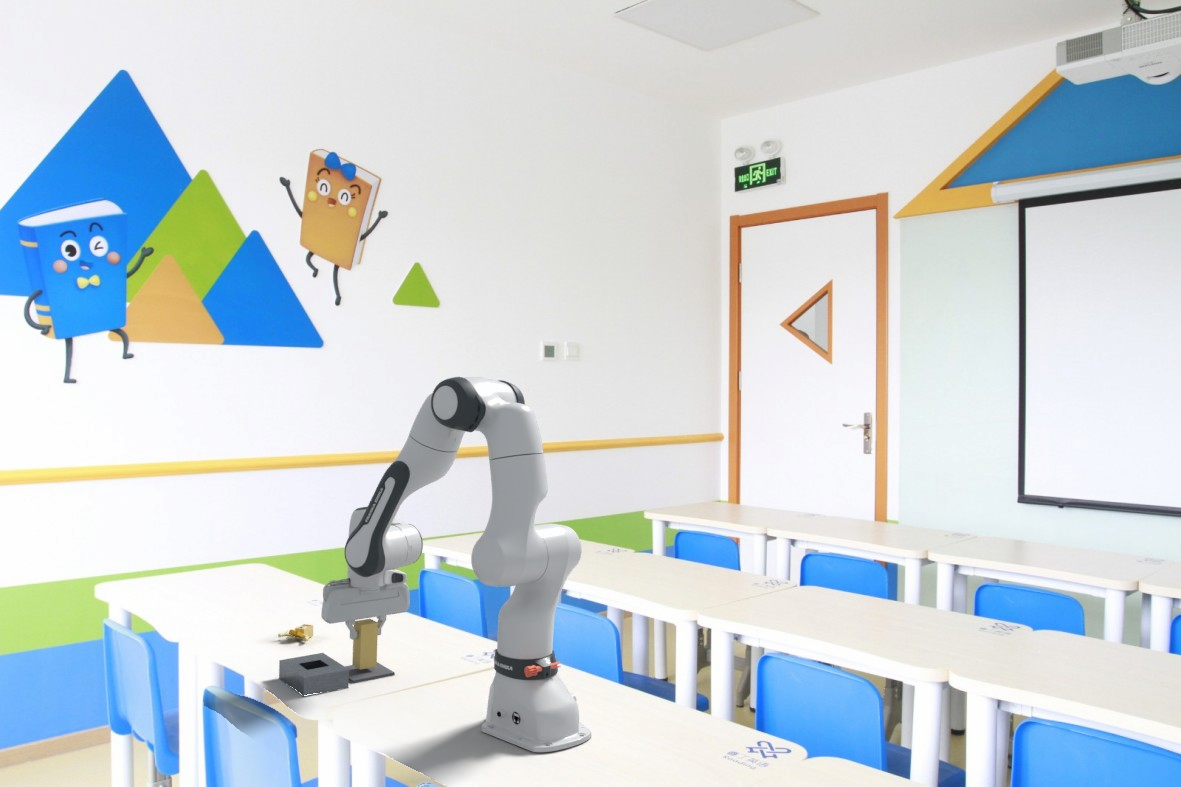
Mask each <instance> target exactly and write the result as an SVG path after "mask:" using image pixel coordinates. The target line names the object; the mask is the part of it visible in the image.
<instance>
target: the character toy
mask: <svg viewBox="0 0 1181 787" xmlns="http://www.w3.org/2000/svg"><path fill="white" fill-rule="evenodd" d="M313 636H314V625H313V624H307V623H303V624H301V625H299V626H296V627H295V628H294V629H289V631H288V632H282V633H279V634H277V637H278V638H282V637H283V638H284V637H285V640H289V639H291V638H292V639H293V638H295V639H296V640H302V641H304V642H307V641H308V640H309V638H311V637H313Z"/></svg>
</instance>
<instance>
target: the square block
mask: <svg viewBox="0 0 1181 787" xmlns="http://www.w3.org/2000/svg"><path fill="white" fill-rule="evenodd" d="M353 627H354V629H355V630H357V631H359V638H358V639H353V640H352V664H351V665H354V666H355V667H357V668H358V669H360V670H361V669H366V668H371V667H376V666H377V662H378V660H377V659H378V636H379V635H378V623H377V621H375V620H373V618H365V619H358V620H355V625H353Z"/></svg>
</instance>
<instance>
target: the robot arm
mask: <svg viewBox="0 0 1181 787" xmlns="http://www.w3.org/2000/svg"><path fill="white" fill-rule="evenodd" d="M523 394H524V393H522V391H521V389H520V388H518V386H517V385H516V384H513V383H512V382H509V381H505V380H502V379H501V380H500V379H499V380H496V379H490V378H486V377H481V376H467V377H461V376H453V377H449V378H446V379H444V380H441V381H440V382H439V383H437V385H436V386H435V388H434V389H433V391H432V393H430V394H429V395H428V396H427V397H426V398H425V400H424V402H423V403H422V404H421V406H420V409H419V410H418V412H417V415H416V417H415V419H414V421H413V423H412V426H411V428H410V431H409V434H408V435H407V439H406V441H405V443H404V445H403V446H402V448H401V450H400V452H399V453H398V455H397V457H396V458H395V460H393V462H392V463H391V464H390V465H389V467H387V469H386V470H385V472H384V473H383V475H382V477H381V478H380V480H379V483H378V484H377V487H376V489H375V491H374V493H373V494H372V496H371V499H370V501H369V503H368V505H367V506H363V507H362V506H361V507H357V508H355V510H353V512H352V513H351V516H350V519H349V526H348V537H347V540H346V542H345V544H344V545H345V546H344V558H345V561H346V564H347V573H346V575H347V577H346V578H343V579H337V580H335V579H333V580H330V581H328V582H327V583H326V584H325V585H324V586H323V588H322V599H323V600H322V605H321V619H322V620H323V621H324V622H325V623H327V624H330V625H331V624H336V623H343V622H344V624H345V625H346V627H347V628H348V630H349V638H350V639H351V640H352V641H353V639H358V638H359V631H357V630H355V629H354V625H355V621H358V620H365V619H372V618H376V619H377V621H376V622H377V623H378V635H377V636H381V635H382V628H383V627H384V625H385V623H386V621H387V616H391V615H396V614H402V613H406V612H407V611H408V610H409V608H410V599H411V598H410V597H411V596H410V588H409V585H408V584H407V581H408V575H407V573H406V572H404V571H402V570H399V568H403V567H407V566H410V565H412V564H414V563H416V562H417V561H418V560H419V559H420V558H421V555H422V553H423V548H424V547H423V546H424V544H423V537H422V534H421V533H420V531H419V529H418V528H417V527H416V526H415V525H413V524H411V523H407V522H404V521H403V520H400V519H399V518H398V517H396V516H397V513H398V511H399V509H400V507H401V505H402V504H403V502H404V501H405V500H407V498H408V497H410V496H411V495H412V494H414V492H416V491H418V490H420V489H423V488H424V487H426V486H428V485H430V484H433V483H435V482H437V481H439V480H441V479H442V478H443V477H444V476H446V474H448V473H449V471H450V470H451V467H452V466H453V464H454V462H455V460H456V458H457V455H458V453H459V452H458V451H459V448H460V446H461V442H462V439H463V437H464V435H465V433H466V432H467V433H473V432H475V431H476V432H480V433H481V434H482V435H483V436H484V438H485V439H486V443H487V450H488V451H487V452H488V460H489V471H490V480H491V495H492V496H491V508H490V514H489V517H488V521H487V523H486V526H485V529H484V531H483V532H482V534H481V535H480V537H479V539H477V541H476V542H475V543H474V545H473V548H472V551H471V559H470V560H471V562H470V563H471V567H472V570H473V573H474V575H475V577H476V578H477V579H478V580H479V582H481V584H484V585H485V586H487V587H497V588H498V587H500V588H501V587H503V588H504V587H505V588H510V587H514V586H515V587H514V590H513V592H512V593H511V594H510V597H509V598H508V599H507V600H506V601H505V602H504V604H503V605H502V606H501V608H500V610H499V612H498V617H497V642H496V643H497V646H496V649H495V650H494V656H493V663H494V665H493V668H494V670H495V673H494V678H493V680H492V683H491V685H490V687H489V692H488V700H487V708H486V716H485V717H486V718H485V721H484V722H483V723H482V724H481V729H480V731H481V732H482V733H485V734H487V735H488V736H489V735H490V736H493V737H495V738H498V739H500V740H502V741H504V742H507V743H509V744H512V745H514V746H518V747H520V748H522V749H525V750H527V751H530V752H532V753H548V752H549V753H550V752H555V751H556V752H557V751H561V750H564V749H569V748H573V747H575V746H579V745H580V744H583V743H585V742H587V741H588V740H590V739H591V738H592V730H590V728H588V727H587V726H586V725H585V724H583V723H581V722H580V710H579V704H578V702H577V696H576V694H575V693H573V692H572V693H571V692H570V691H569V688H567V686H566V684H565V683H564V682H563V680H562V679H561V677H560V675H559V673H558V672H559V668H561V665H559V664H561V661H557V657H556V653H555V650H554V648H553V646H554V645H553V644H554V630H555V616H556V612H557V611H556V610H557V608H558V607H557V606H558V603H559V599H560V597H561V593H562V591H563V588H564V586H565V583H566V581H567V579H568V578H569V576H570V574H571V572H572V571H573V570H574V569H575V568H576V567H577V565H578V564H579V562H580V560H581V557H582V542H581V540H580V537H579V535H578V533H577V532H576V531H575V530H574V529H573V528H572V527H570V526H568V525H565V524H559V523H558V524H557V523H541V524H535V518H536V514H537V510H538V507H539V506H540V504H541V502H542V501H544V500H545V498H546V497H547V494H548V490H549V486H548V480H547V479H548V477H547V471H546V463H545V454H544V446H543V441H542V437H541V432H540V428H539V425H538V421H537V418H536V416H535V413H534V410H533V409H532V408H531V407H530V406H528V405H527V404H525V398H524V395H523Z"/></svg>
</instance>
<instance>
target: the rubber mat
mask: <svg viewBox="0 0 1181 787" xmlns="http://www.w3.org/2000/svg"><path fill="white" fill-rule="evenodd" d="M343 666H344V665H343ZM344 667H346V668H348V669H349V682H351V684H357V683H358V684H359V683H362V682H366V681H367V682H368V681H372V680H376V679H380V678H381V679H382V678H387V677H392V676H395V671H393V670H391V668H388V667H386V666H385V665H382V664H381V663H379V662H378V661H377V666H376V667H371V668H366V669H361V670H360V669H358V668H357V667H355V666H354V665H352V664H351V665H350V664H349V665H345V666H344Z"/></svg>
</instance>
